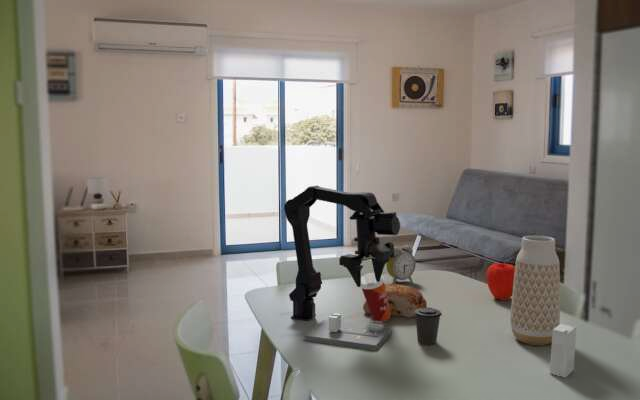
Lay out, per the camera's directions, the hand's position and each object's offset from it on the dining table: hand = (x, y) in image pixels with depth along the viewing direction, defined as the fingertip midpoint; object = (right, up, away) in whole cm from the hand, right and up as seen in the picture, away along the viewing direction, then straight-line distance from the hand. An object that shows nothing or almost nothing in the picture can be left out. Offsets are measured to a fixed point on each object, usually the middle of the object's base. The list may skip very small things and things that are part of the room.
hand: (368, 284), depth 189 cm
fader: (-11, -13, -4) cm, 17 cm away
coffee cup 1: (+5, -12, +12) cm, 18 cm away
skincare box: (+47, -19, -31) cm, 60 cm away
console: (-6, -15, -4) cm, 17 cm away
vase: (+49, -16, -7) cm, 51 cm away
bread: (+12, -12, +23) cm, 28 cm away
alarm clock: (+17, -8, +59) cm, 62 cm away
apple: (+52, -11, +36) cm, 64 cm away
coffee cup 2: (+16, -16, -9) cm, 25 cm away
